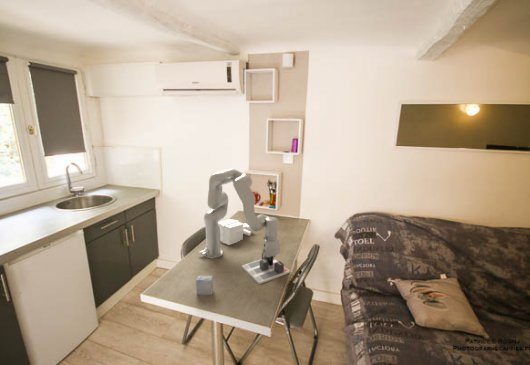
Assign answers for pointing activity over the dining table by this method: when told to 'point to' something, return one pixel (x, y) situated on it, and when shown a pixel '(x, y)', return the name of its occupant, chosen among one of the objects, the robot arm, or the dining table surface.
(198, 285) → the medicine box
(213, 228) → the robot arm
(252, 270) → the panel
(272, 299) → the dining table surface
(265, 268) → the toggle
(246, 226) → the blocky voxel creature
